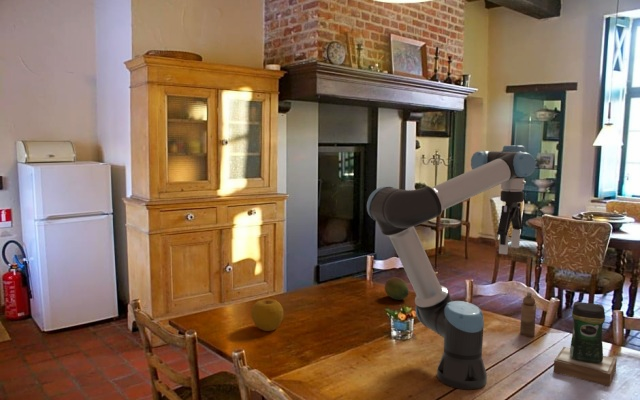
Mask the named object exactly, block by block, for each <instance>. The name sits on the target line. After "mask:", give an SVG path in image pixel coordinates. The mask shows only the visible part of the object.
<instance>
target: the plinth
mask: <svg viewBox="0 0 640 400" xmlns="http://www.w3.org/2000/svg"><path fill="white" fill-rule="evenodd" d="M616 369H617V358H614V357H610V356H606V355H603V361H602V362H600V363H590V362H583V361H578V360H575V359H573V358H572V357H571V356H570V347H567V346H563V347H562V349H561V350H560V351H559V353H558V355H557V356H556V357H555V359H553V373H557V374H559V375H564V376H568V377H571V378H575V379H579V380H583V381H587V382H590V383H594V384H597V385H598V384H599V385H602V386H606V387H610V386H611V384H612V380H613V378H614V376H615V373H616V371H617V370H616Z"/></svg>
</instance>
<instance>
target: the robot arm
mask: <svg viewBox="0 0 640 400" xmlns="http://www.w3.org/2000/svg"><path fill="white" fill-rule="evenodd" d="M526 149H527V148H526V147H525V146H524V145H504V146H503V147H502V150H501V151H496V150H495V151H494V150H491V151H490V150H482V151H475V152H474V153H473V155H472V156H471V157H470V167H471V170H468V171H466V172H464V173H462V174H460V175H457V176H455V177H453V178H450V179H448V180H446V181H443V182H441V183H439V184H436V185H434V186H430V185H426V186H424V187H421V188H417V189H412V190H411V189H408V190H407V189H401V188H400V189H399V188H395V187H393V186H381V187H378V188H376V189H375V190H373V191H372V192H371V194H370V195H369V196H368V198H367V202H366V212H367V215H368V216H369V217H370V218H371V219H372V220H373V221H376V223H377V224H378V228H379V229H380V230H381V233H382V235H383V236H385V237H387V238H389V239H390V241H391V244H392V246H393V248H394V249H395V252H396V254H397V256H398V259H399V261H400V263H401V265H402V267H403V269H404V271H405V274H406V276H407V278H408V280H409V283H410V284H411V286H412V287H411V288H412V289H413V290H414V293H415V298H414V303H415V309H414V310H415V315H416V317H417V319H418V321H419V322H420V323H421V325H423V326H424V327H425V328H428V329H429V330H431V331H432V332H434V333H435V334H437V335H439V336H440V337H442V338H443V352H442V355H441V358H440V361H439V364H438V365H437V370H436V377H437V379H438V380H439V381H440V382H441V383H442V384H444V385H446V386H448V387H451V388H453V389H454V388H455V389H458V390H459V389H460V390H478V389H481V388H483V387H484V386H486V384H487V377H488V375H487V374H488V373H487V371H486V367H485V364H484V360H483V340H484V326H485V322H484V321H485V320H484V313H483V311H482V310H481V308H480V307H479V306H477V305H476V304H473V303H471V302H467V301H462V300H453V299H452V297H451V294H450V293H449V290H448V288H447V287H446V286H444V285H441V284H440V282H439V279H438V277H437V275H436V273H435V270H434V268H433V266H432V263H431V261H430V259H429V257H428V255H427V253H426V251H425V248H424V246H423V244H422V241H421V239H420V237H419V235H418V232H417V230H416V228H415V227H417V226H418V225H421V224H424V223H427V222H428V221H432V220H433V219H435V218H437V217H440V216H441V215H442V213H443V211H445V210H447V209H449V208H451V207H453V206H456V205H457V204H460V203H462V202H464V201H466V200H468V199H470V198H472V197H475V196H478V195H479V194H482V193H483V192H486V191H487V190H488V191H489V190H490V189H492V188H495V187H496V186H499V185H500V189H501V191H500V201H501V202H503V203H505V205H501V212H500V218H499V223H498V227H497V232H496V235H499V239H498V240H499V241H498V254H499V255H508V250H509V234H508V233H509V231H510V226H512V229H511V237H510V238H511V239H510V240H511V241H510V242H511V243H510V247H511V248H515V249H520V241H521V240H520V239H521V230H524V227H523V220H522V209H521V208H522V203H523V202H524V197H525V192H524V191H523V190H525V185H526V184H527V181H525V177H529V176H531V175H532V174H533V173H534V172H535V169H536V160H535V158H534V156H533V155H532V154H531V153H529V152H527V151H526Z"/></svg>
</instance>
